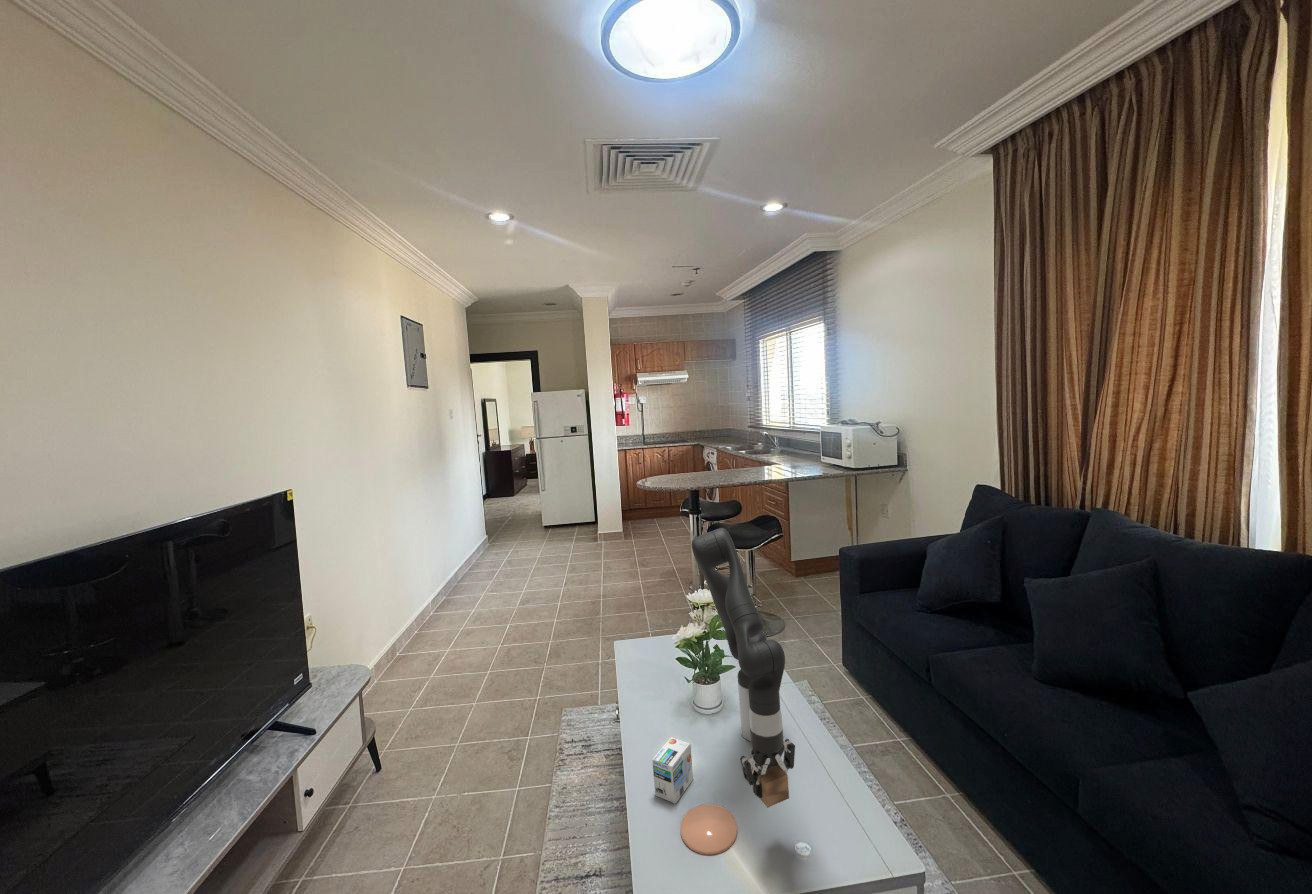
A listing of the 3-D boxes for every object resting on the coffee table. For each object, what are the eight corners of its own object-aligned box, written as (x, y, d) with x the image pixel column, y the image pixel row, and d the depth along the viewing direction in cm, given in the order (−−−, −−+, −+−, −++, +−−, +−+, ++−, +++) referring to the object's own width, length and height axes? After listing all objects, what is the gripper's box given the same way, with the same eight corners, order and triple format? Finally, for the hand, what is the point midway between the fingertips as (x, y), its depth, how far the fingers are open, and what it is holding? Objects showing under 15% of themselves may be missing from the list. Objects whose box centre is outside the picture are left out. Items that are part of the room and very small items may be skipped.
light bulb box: (675, 804, 138) (672, 767, 137) (654, 796, 142) (651, 759, 141) (694, 778, 147) (691, 742, 146) (673, 770, 151) (670, 736, 150)
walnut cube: (774, 781, 127) (772, 758, 126) (789, 798, 121) (787, 774, 121) (753, 789, 125) (751, 766, 124) (767, 807, 119) (765, 783, 119)
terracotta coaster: (720, 800, 138) (720, 797, 138) (747, 841, 125) (747, 837, 125) (672, 819, 133) (671, 816, 133) (695, 863, 120) (695, 859, 120)
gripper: (782, 706, 127) (786, 770, 129) (731, 725, 122) (736, 790, 124) (801, 724, 120) (805, 790, 122) (748, 744, 115) (753, 813, 117)
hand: (770, 790), depth 123 cm, fingers closed on walnut cube, 6 cm apart
